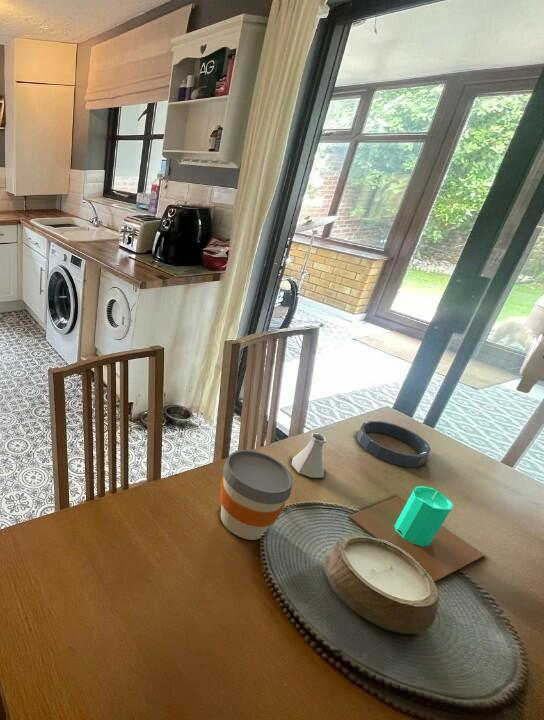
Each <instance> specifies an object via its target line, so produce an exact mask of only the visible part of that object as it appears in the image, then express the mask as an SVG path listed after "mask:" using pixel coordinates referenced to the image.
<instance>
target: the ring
mask: <svg viewBox="0 0 544 720" xmlns="http://www.w3.org/2000/svg"><path fill="white" fill-rule="evenodd" d="M367 433H378V434H383V435H388V436H391V437H393V438H396V439H399V440H401V441H402V442H404V443H406V444H407V445H409V446H411V447H412V448H413V449H414V450H416V451H417V452H418V453H419V454H412V453H411V454H410V453H405V452H401V451H396V450H393V449H391V448H388V447H386V446H384V445H382V444H381V443H379V442H377V441H375V440H374V439H372V438H371V437H370V436H369V435H368V434H367ZM356 440H357V443H358V445H360V446H361V447H362V448H363V449H364V450H365V451H366V452H368V453H369V454H371V455H372V456H373V457H375V458H378V459H379V460H382V461H384V462H387V463H390V464H393V465H396V466H401V467H404V468H405V467H406V468H408V467H409V468H418V467H420V466H423V465H424V464H425V463H426V461H427V459H428V457H429V455H430V453H431V450H432V449H431V446H430V445H429V443H428V442H427V441H426V439H424V438H423V437H422V436H420V435H419V434H418V433H416V432H413V431H412V430H409V429H408V428H406V427H404V426H400V425H399V424H395V423H391V422H387V421H382V420H369V421H365V422H362V424H361V426H360V428H359V430H358V433H357V435H356Z"/></svg>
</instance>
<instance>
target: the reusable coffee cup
mask: <svg viewBox="0 0 544 720" xmlns="http://www.w3.org/2000/svg"><path fill="white" fill-rule="evenodd" d="M222 475H223V476H222V478H221V481H220V492H219V493H220V494H219V499H220V503H221V507H220V519H221V522H222V524H223V525H224V527H225V528H226V529H227V530H228V531H229V532H230V533H232V534H233V535H235V536H237V537H239V538H241V539H244V540H251V541H254V540H256V541H257V540H259V539H261V538H262V537H261V536H260V535H261V534H263V533H264V532H266V533H267V531H268V529H269V528H270V526H271V525H273V524H274V523H275V522H276V521H277V519H278V517H279V516H280V514H281V513H282V511H283V509H284V508H285V506H286V501H288V499H290V497H291V494H292V488H293V482H294V479H293V476H292V473H291V472H290V469H288V468H287V467H286V465H284V464H283V463H282V462H281V461H280V460H278V459H276V458H275V457H273V456H271V455H268V454H266V453H264V452H261V451H257V450H252V449H239V450H235V451H233V452H231V453H230V454H229V455H228V456H227V459H226V461H225V462H224V465H223V468H222Z"/></svg>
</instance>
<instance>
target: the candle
mask: <svg viewBox="0 0 544 720" xmlns="http://www.w3.org/2000/svg"><path fill="white" fill-rule="evenodd" d="M453 507H454V504H453V503H452V501H451V500H450V499H449V498H448V497H447V496H445V495H444V494H443V492H440V491H439V490H437V489H435V488H434V487H430V486H424V485H420V486H419V485H418V486H415V487H414V488H413V490H412V493H411V495H410V496H409V498H408V500H407V502H406V505H405V507H404V509H403V511H402V513H401V514H400V516H399V518H398V520H397V522H396V524H395V525H394V527H395V529H396V532H397V533H398V534H399V535H400V536H401V537H403V538H404V539H406V540H407V541H409V542H411V543H413V544H416V545H420V546H429V545H430V543H431V542H432V540H433V538H434V537H435V535H436V533H437V532H438V530H439V529H440V527H441V526H443V524H444V522H445V520H446V519H447V517H448V516H449V514H450V512H451V511H452V509H453ZM397 529H398V530H400V531H401V533H402V534H401V533H400V532H399V531H398V530H397ZM408 538H409V539H408ZM410 539H411V540H410ZM413 541H414V542H413Z"/></svg>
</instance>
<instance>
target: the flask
mask: <svg viewBox="0 0 544 720" xmlns="http://www.w3.org/2000/svg"><path fill="white" fill-rule="evenodd" d="M310 437H311V439H310V440H309V442H308V444H307V445H306V446H304V448H303V449H302V450H301V451H300V452H298V453H297V454H296V455H294V456H293V457H292V461H291V466H292V467H293V468H294V469H295V471H296V472H297V473H298V474H301V475H304V476H305V477H308V478H311V479H313V478H318V479H319V478H324V474H325V469H324V459H323V447H324V444H326V443H327V438H326V437H325V436H324V434H321V433H317V432H315V433H311V436H310Z"/></svg>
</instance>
